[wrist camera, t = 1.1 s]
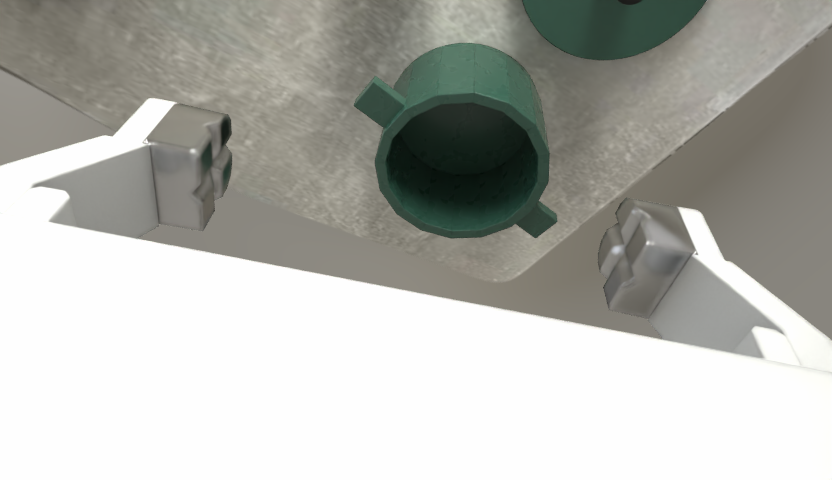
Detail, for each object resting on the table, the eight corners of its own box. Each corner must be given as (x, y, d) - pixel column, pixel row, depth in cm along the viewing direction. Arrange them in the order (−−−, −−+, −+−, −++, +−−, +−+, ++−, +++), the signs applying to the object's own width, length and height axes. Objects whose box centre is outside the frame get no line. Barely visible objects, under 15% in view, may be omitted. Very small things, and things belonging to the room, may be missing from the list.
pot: (428, -16, 43) (419, 28, 36) (594, 128, 49) (611, 187, 43) (334, 103, 50) (312, 157, 43) (490, 216, 56) (492, 278, 50)
